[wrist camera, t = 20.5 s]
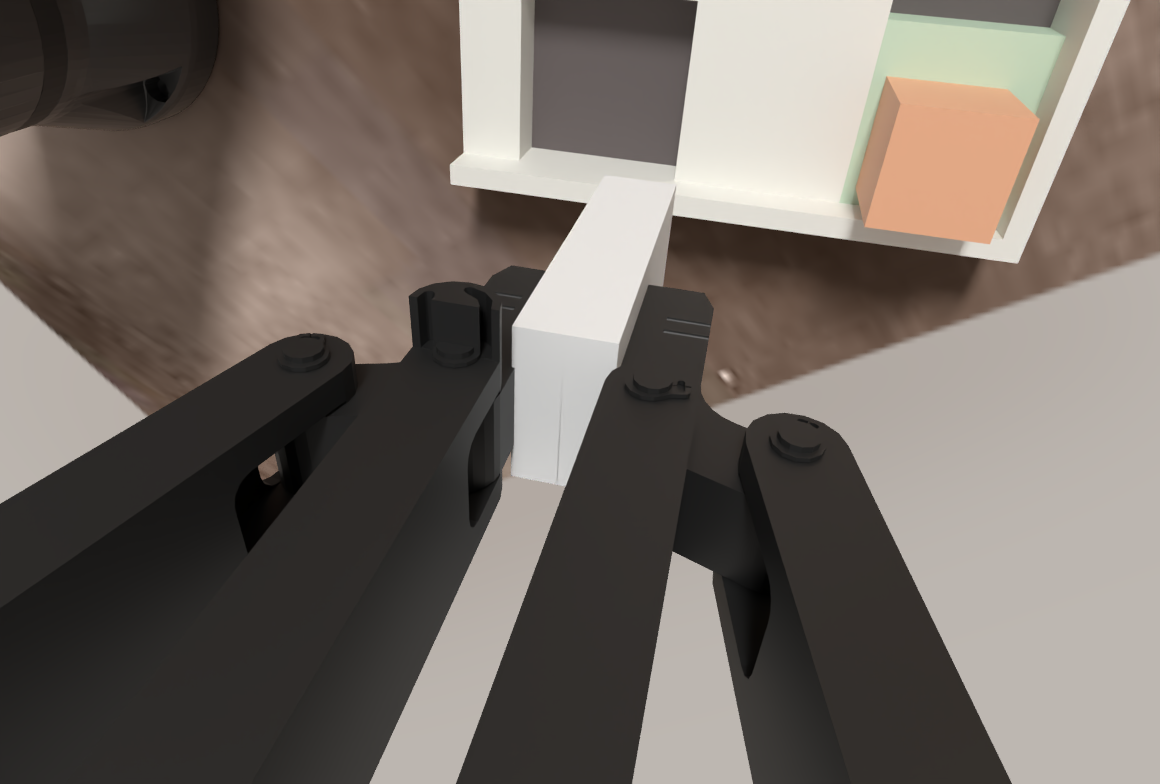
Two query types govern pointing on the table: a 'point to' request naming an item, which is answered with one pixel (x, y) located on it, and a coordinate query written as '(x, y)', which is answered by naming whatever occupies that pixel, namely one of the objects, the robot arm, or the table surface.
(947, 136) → the block
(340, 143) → the table surface
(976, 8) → the box
